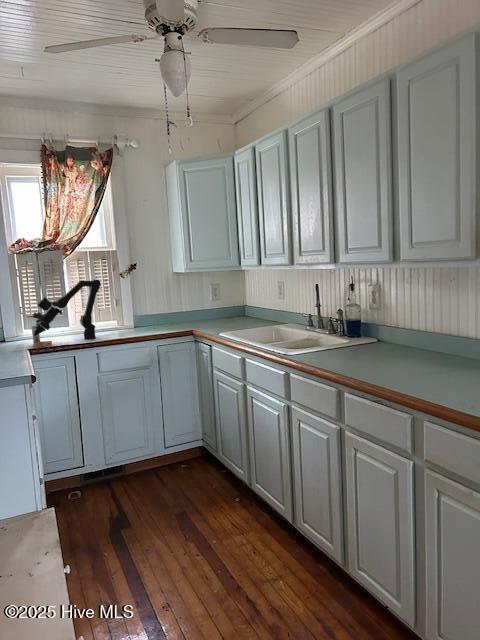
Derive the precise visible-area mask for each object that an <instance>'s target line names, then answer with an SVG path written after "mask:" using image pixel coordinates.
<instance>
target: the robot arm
mask: <svg viewBox="0 0 480 640" xmlns="http://www.w3.org/2000/svg"><path fill="white" fill-rule="evenodd" d="M101 283H102V282H101V281H100V280H99V279H94V278H93V279H90V280H79V281H78V282H77V283H76V284H75V285H74V286H73V287H72V288H71V289H70V290H69V291H67V293H65V294H64V295H63V296H61V297H59V298H57V299H56V300H55V301H50V300H48V299H47V297H46V296H44V297H43V298H42V299H41V300H39V301H38V302H37V304H36V306H37V307H39V308H40V309H42V311H46V313H43V314H42V313H41V312H39V311H38V312H33V313H32V314H33V315H32V318H33V319H36V320H35V326H38V328H37V330H36V331H35V333H34V336H36V335H38V334H39V335H40V334H42V333H43V332H45V331H49V330H50V328H51V326H50V324H51V323H52V322H53V321H54V319H55V318H56V317H57V316H58V315H59V314H60V315H63V310H62V309H64V308H65V307H66V306H67V305H68V303H69V302H70V300H71V299H72V298H73V297H75V295H77V293H79V291H81V290H82V288H84V287H88V290H89V293H88V298H87V303H86V307H85V311H84V314H83V315H82V314H80V319H79V323H80V326H81V327H83V328H84V329H83V330H84V331H83V338H84V340H92V339H93V340H94V339H96V338H97V336H96V325H94V324H93V318H92V313H93V308H94V304H95V302H96V301H95V300H96V296H97V294H98V292H99V290H100V287H101Z"/></svg>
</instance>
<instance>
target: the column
mask: <svg viewBox="0 0 480 640" xmlns="http://www.w3.org/2000/svg"><path fill="white" fill-rule="evenodd" d="M37 328H38V326H36V325H32V326H31V335H32V341H33V342H32V343H33V344H34V343H36V342H41V336H40V334H38V335H36V336H34V333H35V331H36V330H37ZM33 344H32V345H33Z"/></svg>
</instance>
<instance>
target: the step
mask: <svg viewBox="0 0 480 640" xmlns="http://www.w3.org/2000/svg"><path fill="white" fill-rule="evenodd" d="M51 346H53V341H52V340H46V341H45V340H44V341H40V342H36V343H34V344H32V349H33V348H36V349H44V348H43V347H48V348H50V347H51Z"/></svg>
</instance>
